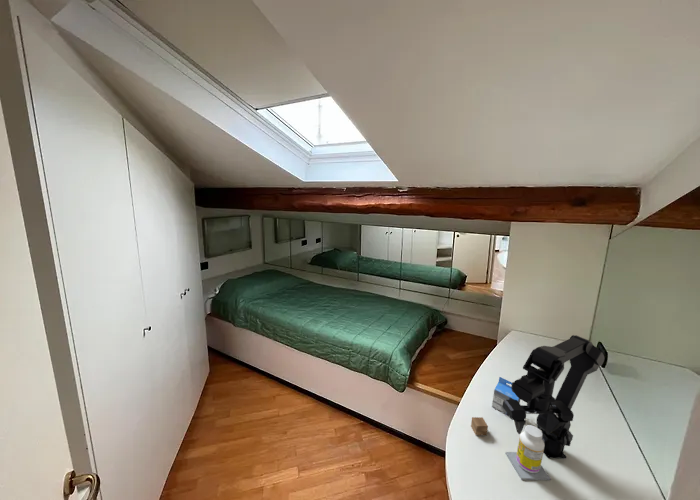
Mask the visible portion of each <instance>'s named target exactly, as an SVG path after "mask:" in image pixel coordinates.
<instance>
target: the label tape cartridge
mask: <svg viewBox="0 0 700 500" xmlns="http://www.w3.org/2000/svg"><path fill="white" fill-rule="evenodd" d="M512 382H513V381H510V380H507V379H506V378H504V377H501V376H498V381H497V384H496V385H495V388H494V391H493V396H492V403H491V407H492V408H493V409H494V410H497V411H498V412H501V413H503V414H504V415H507V417H510V416H509V415H508V413H507V412H506V411H505V409H504V408H503V407H502V406H503V401H504V400H517V401H518V402H519V404H520V405H521V399H519V398H518V397H517V396H516V394H515V393H514V392H512V389H511V386H512Z"/></svg>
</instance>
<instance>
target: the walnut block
mask: <svg viewBox="0 0 700 500" xmlns="http://www.w3.org/2000/svg"><path fill="white" fill-rule="evenodd" d="M470 427H471V429H472V431H473V433H474V435H475V436H487V434H488V427H489V425H488V424H487V421H485V419H484V417H483V416H482V417H478V416H477V417H476V416H475V417H474V416H473V417H471V423H470Z"/></svg>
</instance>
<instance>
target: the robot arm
mask: <svg viewBox="0 0 700 500" xmlns="http://www.w3.org/2000/svg"><path fill="white" fill-rule="evenodd" d="M568 361H569V363H570V364H569V365H570V367H569V370H568V372H567V374H566V376H565V378H564V380H563V381H562V383H561V387H560V388H559V391H558V392H557V394H556V397H554V396H553V393H554V388H555V384H556V381H557V380H558V378H559V377H560V375H561V374H562V372H563V371H564V369H565V363H566V362H568ZM604 362H605V355H604V353H603V352H602V351H601V350H600V349H599V348H598V347H596V346H595V345H594V344H593V342H591V341H590V340H589V339H586V338H584V337H582V336H579V335H575V334H573V335H570V337H569V338H568V339H566V340H564V341H561V342H560V343H558V344H556V345H554V346H550V345H549V346H548V345H541V346H538V347H537V346H536V348H534V349H532V351H531V352H530V354H529V356H528V358H527V360H526V361H525V363H524V365H523V366H522V369H523V370H525V371H527V372H526V374H524V375H522V376H521V377H520V378H518V379H516V380H515V381H511V382H512V385H510V386H511V389H512V392H514V393H515V394H516V396H517V397H518V398H519V399H520V401H522V402H524V403H526V405H521V403H520V404H519V402H518V401H517V400H504V401H503V406H502V407H503V408H504V409H505V411H506V412H507V413H508V415H509V416H508V415H507V416H508V417H509V418H510V419H511V420H513V422H514V425H515V428H516V432H517V434H518V435H520V434H521V433H522V432H523V430H524V428H525V426H526V425H525V424H526V420H525V419H527V415H537V417H536V427H537V428H538V429H540V430H541V432H542V434H543V435H542V440H543V441H544V445H545V446H544V451H543V455H545V457H546V458H548V459H567V457H568V456H567V455H566V454H565V453H564V449H565V446H567V447H570V446H571V443H572V440H573V438H574V435H573V433H572V432H571V431H570V428H571V426H572V423H571V422H573V421H574V420H573V419H574V416H575V415H574V412H573V411H572V408H573V406H574V403H575V401H576V400H577V398H578V395H579V393H580V391H581V389H582V387H583V385H584V383H585V380H586V379H587V377H588V376H589V375H590V374H593V373H594V372H596V371H598V369H599V367H602V365H603V364H604ZM537 367H538V368H537Z"/></svg>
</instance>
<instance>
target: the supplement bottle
mask: <svg viewBox="0 0 700 500" xmlns="http://www.w3.org/2000/svg"><path fill="white" fill-rule="evenodd" d="M542 435H543V434H542V431H541V430H540V429H538V428H537V426H534V425H531V424H528V425H525V426H524V431H523V430H522V432H521V433H520V434H519V440H518V445H517V451H516V452H517V456H516V460H517V463H518V464H519V466H520V467H521V468H522V469H524V470H525V471H527V472H530V473H537V472H539V470H540V467H541V466H542V460H543V455H544V452H543V451H544V446H545V445H544V441H543V440H542Z"/></svg>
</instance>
